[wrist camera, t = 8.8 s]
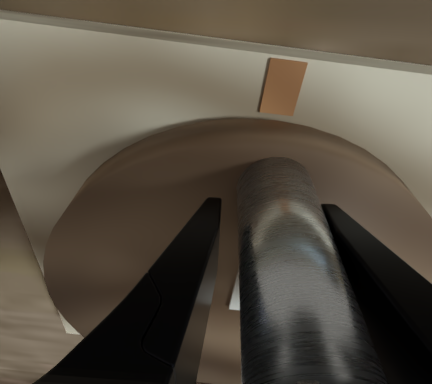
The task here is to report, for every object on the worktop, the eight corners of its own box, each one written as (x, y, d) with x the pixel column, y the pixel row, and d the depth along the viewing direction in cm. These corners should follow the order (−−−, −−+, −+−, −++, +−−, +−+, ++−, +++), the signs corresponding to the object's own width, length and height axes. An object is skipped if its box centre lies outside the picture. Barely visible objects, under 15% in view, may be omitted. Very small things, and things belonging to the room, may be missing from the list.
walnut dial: (339, 364, 22) (385, 531, 15) (92, 341, 21) (31, 504, 15) (523, 150, 11) (961, 426, 4) (15, 88, 10) (-368, 300, 4)
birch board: (345, 339, 23) (352, 361, 22) (75, 313, 22) (66, 334, 21) (548, 81, 11) (591, 96, 10) (-30, 5, 10) (-67, 11, 9)
